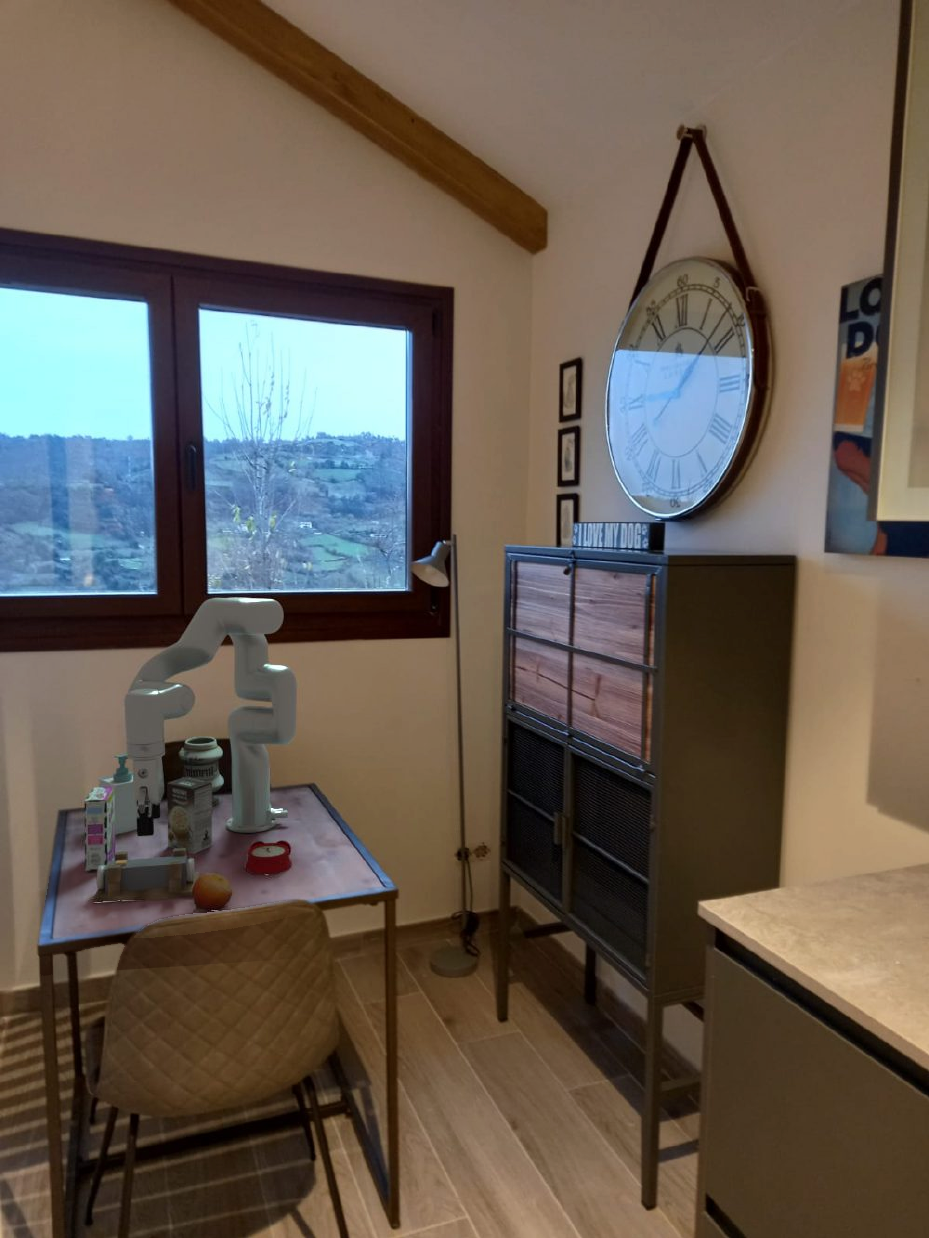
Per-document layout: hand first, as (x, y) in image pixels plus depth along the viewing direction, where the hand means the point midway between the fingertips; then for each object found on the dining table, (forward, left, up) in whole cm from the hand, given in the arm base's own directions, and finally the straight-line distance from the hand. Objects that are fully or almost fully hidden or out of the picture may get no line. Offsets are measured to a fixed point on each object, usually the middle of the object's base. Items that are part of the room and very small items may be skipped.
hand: (149, 826), depth 181 cm
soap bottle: (+12, -41, -14) cm, 45 cm away
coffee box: (-6, -24, -14) cm, 29 cm away
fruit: (-14, +12, -14) cm, 23 cm away
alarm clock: (-25, -10, -14) cm, 30 cm away
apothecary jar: (-5, -59, -14) cm, 61 cm away
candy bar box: (+13, -17, -14) cm, 26 cm away
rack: (0, +1, -14) cm, 14 cm away
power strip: (+1, +1, -13) cm, 13 cm away
